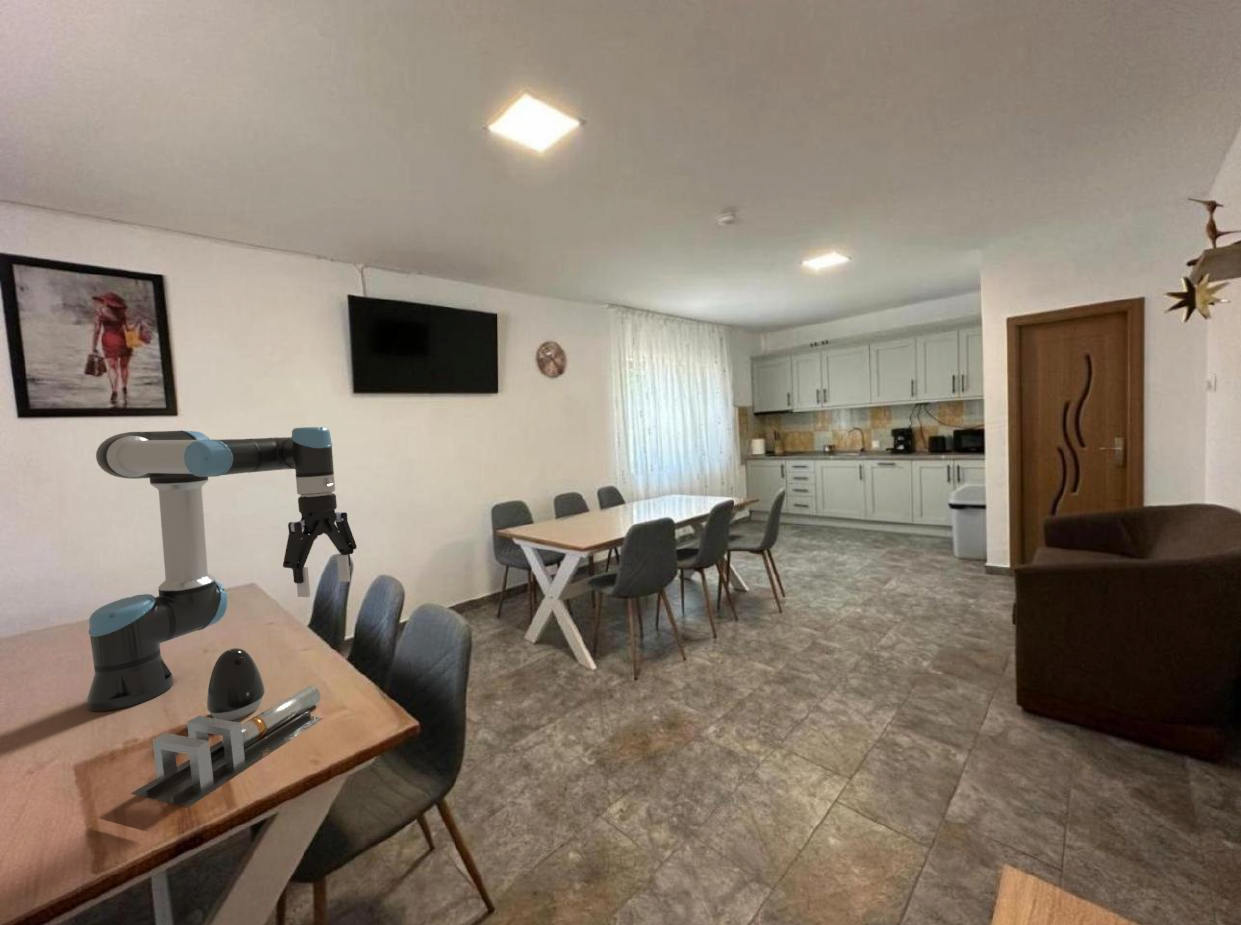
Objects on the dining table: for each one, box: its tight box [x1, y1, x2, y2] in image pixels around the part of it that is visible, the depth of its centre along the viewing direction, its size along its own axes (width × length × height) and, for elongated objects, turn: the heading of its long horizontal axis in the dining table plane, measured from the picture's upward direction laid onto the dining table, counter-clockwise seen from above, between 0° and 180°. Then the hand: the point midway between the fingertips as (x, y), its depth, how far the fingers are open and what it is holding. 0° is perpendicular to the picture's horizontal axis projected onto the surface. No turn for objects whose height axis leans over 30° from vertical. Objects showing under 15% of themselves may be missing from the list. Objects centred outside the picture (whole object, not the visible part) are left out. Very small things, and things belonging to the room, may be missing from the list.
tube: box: [221, 685, 321, 749], centre depth 105 cm, size 18×4×4 cm, turn 163°
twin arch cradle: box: [130, 710, 324, 808], centre depth 97 cm, size 14×26×9 cm, turn 163°
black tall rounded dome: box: [206, 648, 266, 721], centre depth 111 cm, size 10×10×15 cm
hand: (325, 588), depth 117 cm, fingers open, 10 cm apart
